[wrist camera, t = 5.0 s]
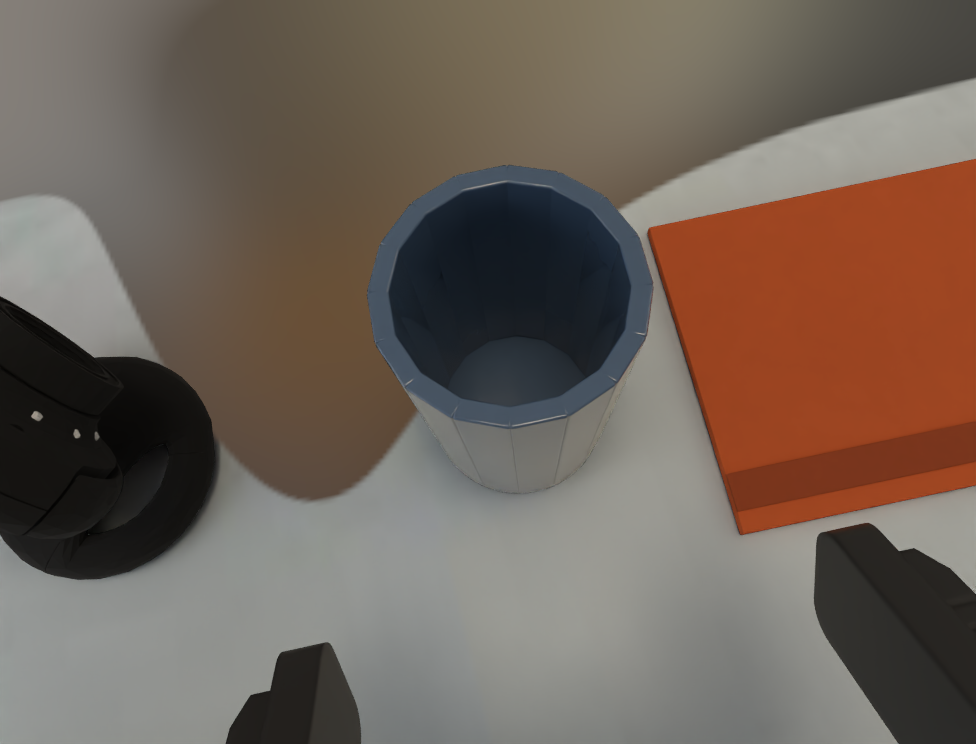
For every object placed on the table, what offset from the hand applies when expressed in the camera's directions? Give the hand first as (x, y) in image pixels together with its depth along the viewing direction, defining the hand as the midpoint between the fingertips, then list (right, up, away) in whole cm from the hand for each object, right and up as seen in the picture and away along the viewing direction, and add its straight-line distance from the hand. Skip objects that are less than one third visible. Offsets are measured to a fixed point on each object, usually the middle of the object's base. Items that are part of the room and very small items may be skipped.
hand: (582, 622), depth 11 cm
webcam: (-14, +1, +13) cm, 19 cm away
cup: (-1, +3, +12) cm, 12 cm away
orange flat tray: (+14, +6, +12) cm, 20 cm away
